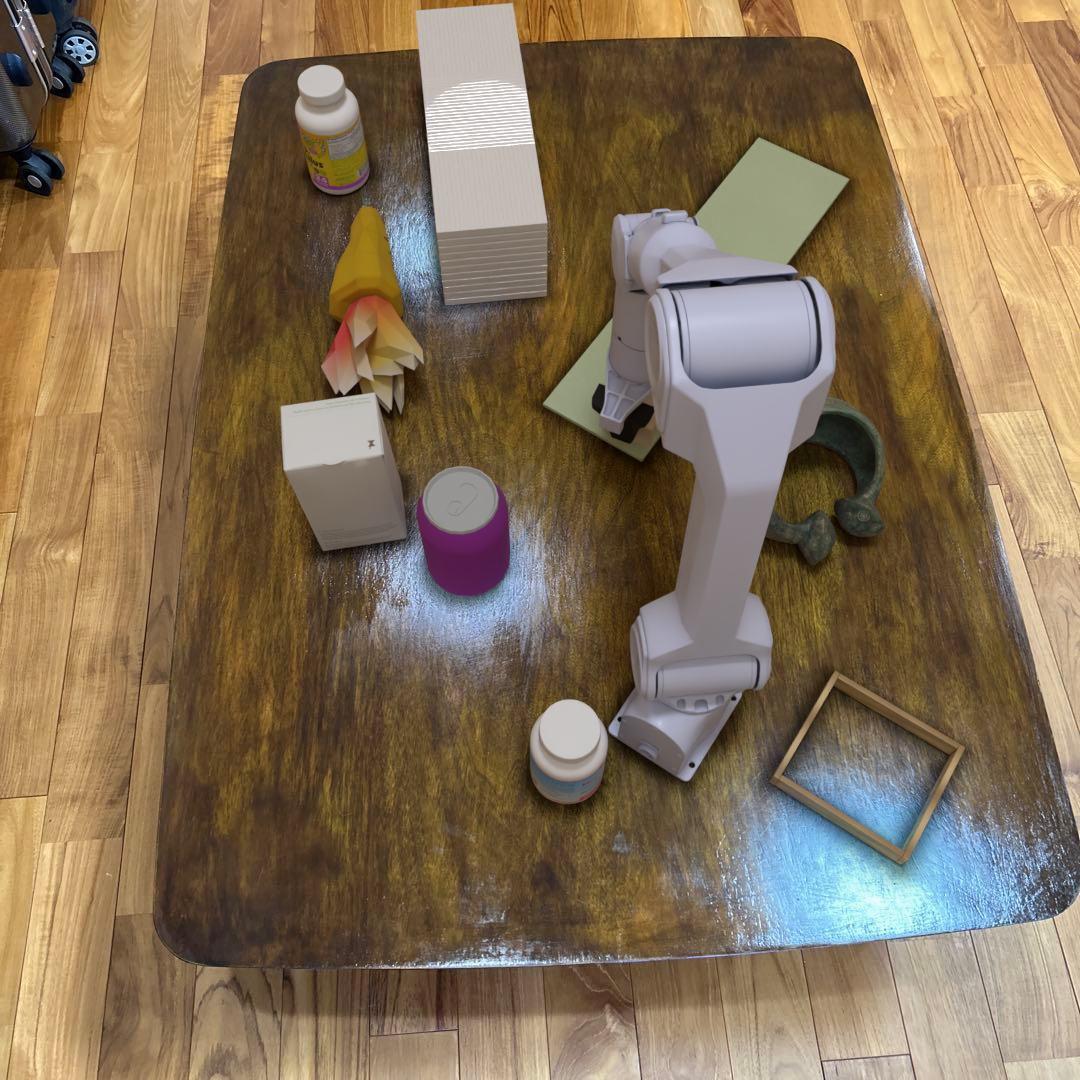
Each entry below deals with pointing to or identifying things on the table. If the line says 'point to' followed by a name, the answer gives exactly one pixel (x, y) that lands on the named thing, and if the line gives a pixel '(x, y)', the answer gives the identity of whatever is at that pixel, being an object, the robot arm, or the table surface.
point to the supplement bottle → (331, 131)
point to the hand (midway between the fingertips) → (633, 414)
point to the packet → (646, 428)
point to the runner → (737, 228)
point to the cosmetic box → (343, 471)
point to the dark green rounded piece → (855, 514)
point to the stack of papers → (482, 155)
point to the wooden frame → (904, 721)
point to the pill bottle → (568, 752)
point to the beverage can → (464, 531)
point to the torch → (369, 317)
